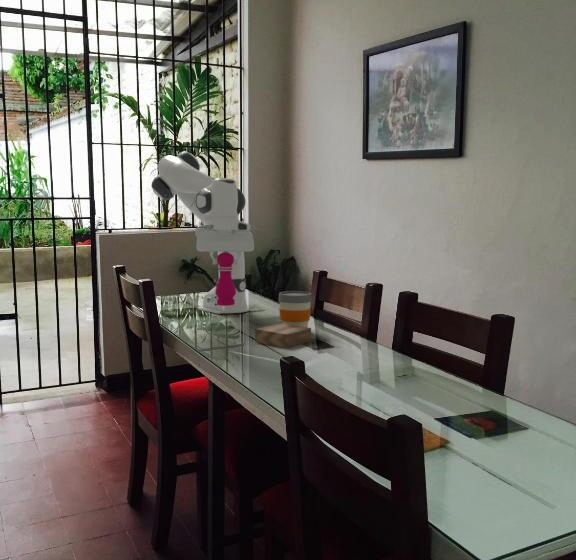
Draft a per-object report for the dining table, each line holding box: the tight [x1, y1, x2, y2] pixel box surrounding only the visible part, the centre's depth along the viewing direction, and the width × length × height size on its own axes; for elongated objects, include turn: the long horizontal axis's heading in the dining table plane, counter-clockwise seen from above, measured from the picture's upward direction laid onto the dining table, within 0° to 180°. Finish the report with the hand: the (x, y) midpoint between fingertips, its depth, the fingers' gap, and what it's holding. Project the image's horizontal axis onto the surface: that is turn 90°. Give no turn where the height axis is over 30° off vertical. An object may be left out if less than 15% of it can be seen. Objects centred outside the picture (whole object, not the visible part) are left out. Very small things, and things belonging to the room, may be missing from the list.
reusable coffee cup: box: [278, 290, 313, 328], centre depth 243 cm, size 13×12×15 cm
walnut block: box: [254, 322, 312, 349], centre depth 229 cm, size 14×14×5 cm
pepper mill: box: [215, 252, 236, 306], centre depth 228 cm, size 7×7×20 cm
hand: (225, 264), depth 228 cm, fingers closed on pepper mill, 6 cm apart
